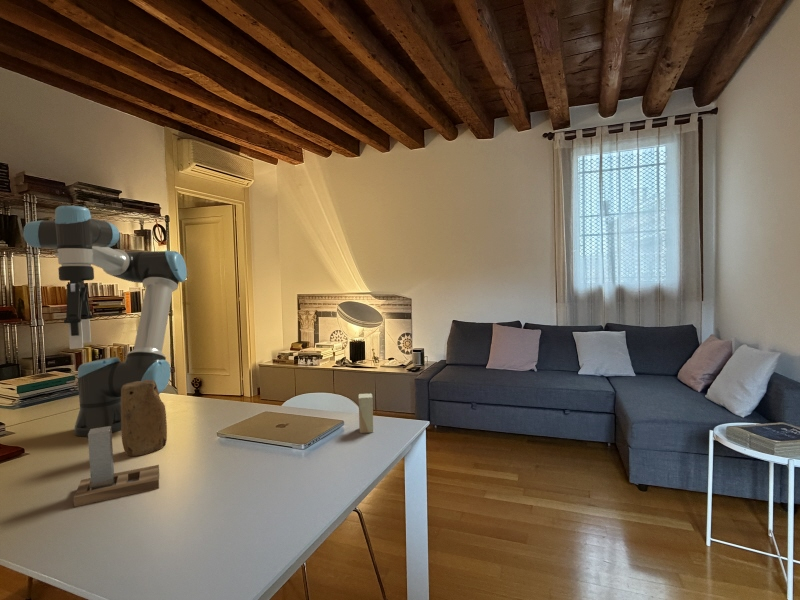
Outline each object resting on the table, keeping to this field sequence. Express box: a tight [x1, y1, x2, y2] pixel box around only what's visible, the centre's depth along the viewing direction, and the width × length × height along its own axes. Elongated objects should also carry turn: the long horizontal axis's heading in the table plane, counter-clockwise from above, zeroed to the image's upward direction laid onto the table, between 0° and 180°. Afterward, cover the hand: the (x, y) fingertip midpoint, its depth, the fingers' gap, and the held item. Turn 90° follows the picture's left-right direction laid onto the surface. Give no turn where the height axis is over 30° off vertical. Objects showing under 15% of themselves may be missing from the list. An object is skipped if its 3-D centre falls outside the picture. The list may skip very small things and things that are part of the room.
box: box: [358, 393, 374, 434], centre depth 137 cm, size 5×4×11 cm
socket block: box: [73, 464, 160, 508], centre depth 103 cm, size 10×16×2 cm, turn 118°
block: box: [120, 380, 168, 457], centre depth 126 cm, size 11×8×20 cm
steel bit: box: [87, 426, 115, 490], centre depth 101 cm, size 4×4×14 cm
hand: (81, 345), depth 117 cm, fingers open, 13 cm apart
